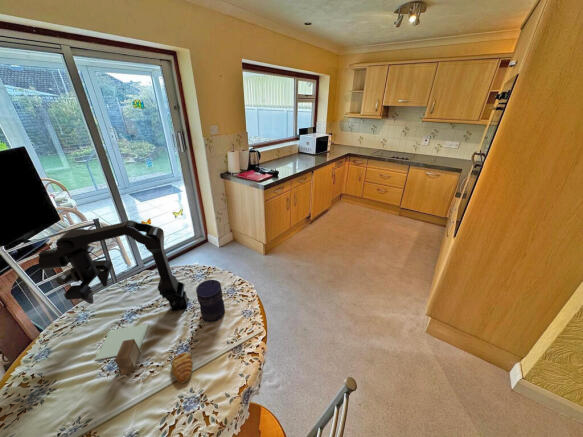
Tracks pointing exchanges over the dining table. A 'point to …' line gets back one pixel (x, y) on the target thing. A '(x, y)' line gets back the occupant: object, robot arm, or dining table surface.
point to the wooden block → (128, 356)
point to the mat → (121, 340)
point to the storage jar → (210, 300)
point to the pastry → (182, 367)
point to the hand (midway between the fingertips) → (98, 294)
